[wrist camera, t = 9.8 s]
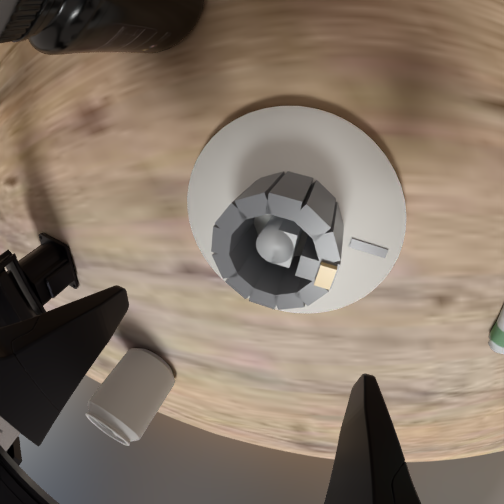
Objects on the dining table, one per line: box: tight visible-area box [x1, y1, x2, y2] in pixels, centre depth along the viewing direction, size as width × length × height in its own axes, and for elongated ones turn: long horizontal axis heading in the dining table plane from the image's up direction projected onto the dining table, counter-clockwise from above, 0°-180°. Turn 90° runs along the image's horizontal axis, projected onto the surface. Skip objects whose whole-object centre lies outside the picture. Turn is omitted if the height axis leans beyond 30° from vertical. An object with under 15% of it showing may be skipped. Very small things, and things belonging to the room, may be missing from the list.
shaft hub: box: [187, 106, 406, 313], centre depth 16 cm, size 14×14×4 cm
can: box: [86, 348, 175, 446], centre depth 29 cm, size 8×8×12 cm
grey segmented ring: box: [211, 171, 344, 310], centre depth 15 cm, size 6×6×4 cm
